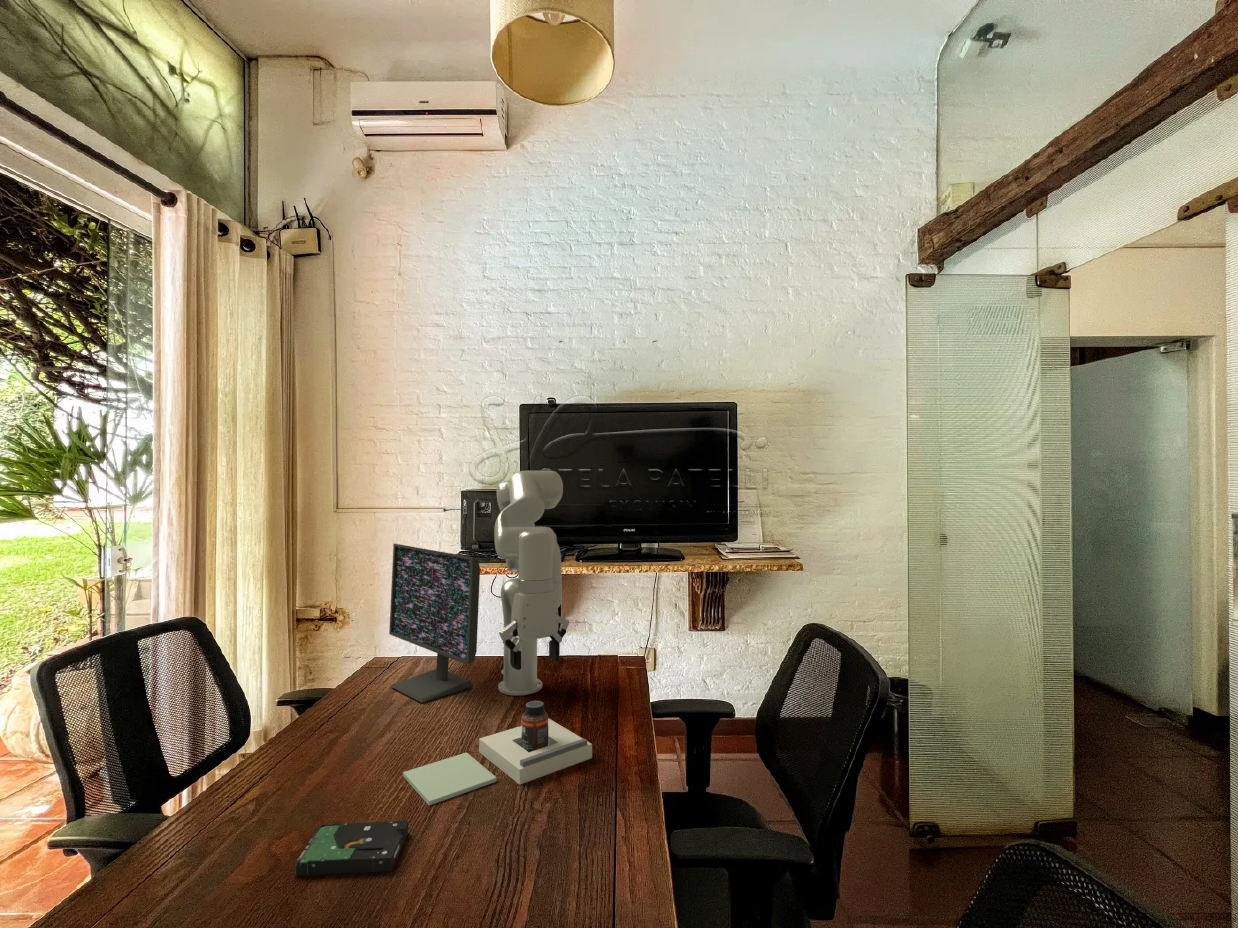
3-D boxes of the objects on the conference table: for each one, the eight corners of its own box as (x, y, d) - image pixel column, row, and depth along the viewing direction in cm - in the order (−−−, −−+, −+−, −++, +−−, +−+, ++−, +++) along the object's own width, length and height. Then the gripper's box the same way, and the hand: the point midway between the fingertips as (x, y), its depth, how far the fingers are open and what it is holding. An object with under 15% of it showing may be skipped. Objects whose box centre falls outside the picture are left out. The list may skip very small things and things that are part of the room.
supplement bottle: (553, 751, 136) (553, 700, 136) (541, 763, 130) (541, 710, 130) (529, 747, 137) (529, 697, 138) (516, 758, 132) (516, 706, 132)
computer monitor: (369, 677, 183) (370, 545, 184) (419, 664, 195) (419, 540, 196) (447, 717, 154) (448, 560, 154) (499, 700, 166) (500, 553, 166)
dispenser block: (479, 751, 135) (479, 733, 135) (547, 730, 146) (547, 713, 146) (519, 784, 121) (519, 764, 121) (592, 757, 132) (592, 739, 132)
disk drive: (408, 835, 105) (319, 839, 104) (408, 819, 105) (320, 822, 104) (392, 874, 95) (293, 879, 94) (392, 856, 95) (293, 861, 94)
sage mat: (402, 776, 124) (402, 772, 124) (466, 755, 133) (466, 752, 133) (429, 805, 113) (429, 801, 113) (496, 781, 122) (496, 777, 122)
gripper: (559, 579, 142) (558, 652, 142) (492, 588, 132) (492, 667, 131) (577, 584, 137) (577, 660, 136) (509, 593, 126) (508, 676, 125)
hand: (535, 663), depth 134 cm, fingers open, 9 cm apart
